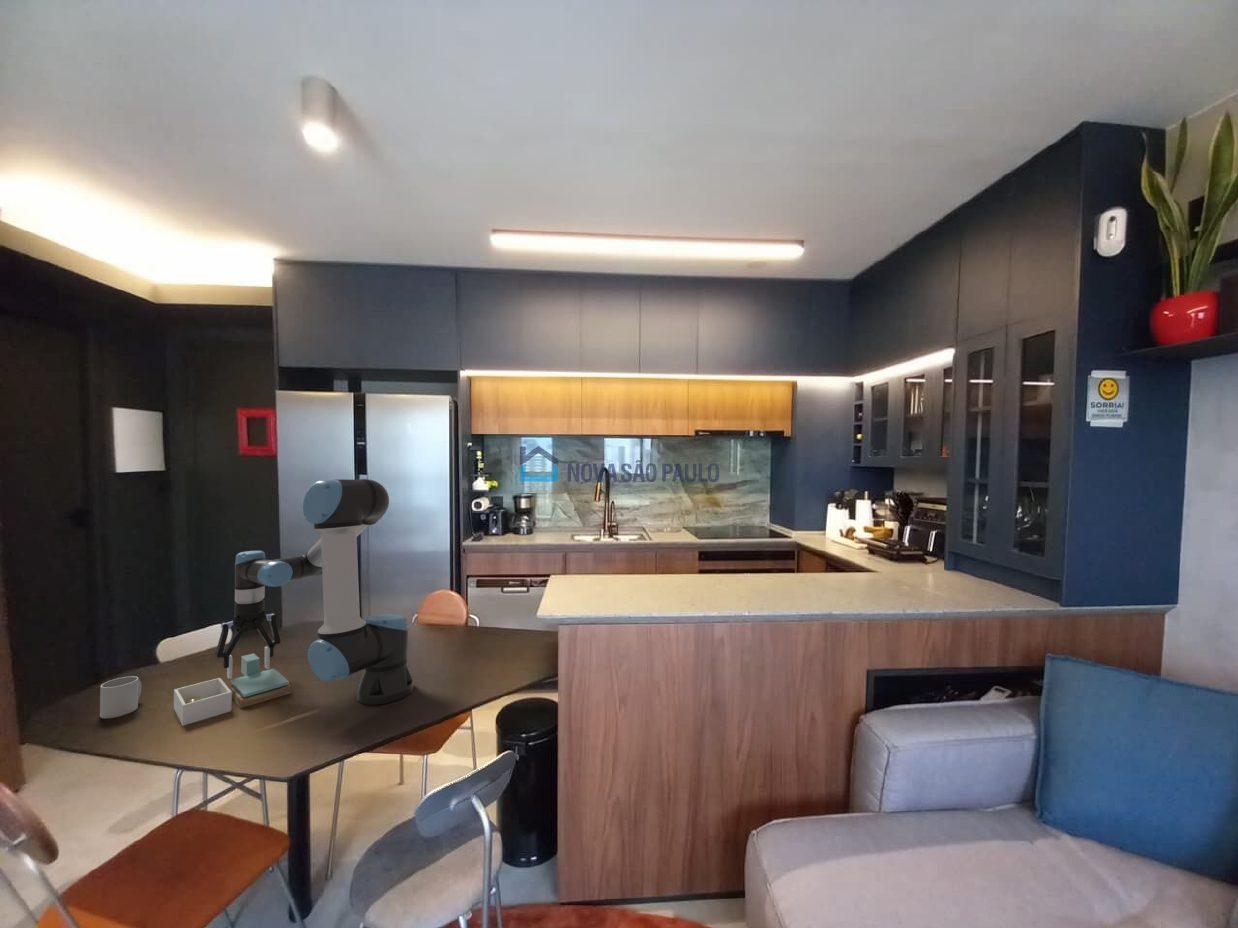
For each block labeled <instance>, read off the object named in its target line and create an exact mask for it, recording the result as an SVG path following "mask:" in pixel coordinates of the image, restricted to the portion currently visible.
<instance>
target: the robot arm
mask: <svg viewBox="0 0 1238 928" xmlns="http://www.w3.org/2000/svg"><path fill="white" fill-rule="evenodd" d="M389 505H390V496H389V493H388V491H387V489H386V488H385V487H384V485H382V484H381V483H380V482H378V481H376V480H373V479H367V478H362V479H333V478H332V479H325V480H318V481H317V482H314V483H313V484H312V485H310V487H309V488H308V489H307V491H306V492H305V495H304V498H303V502H302V512H303V516H305V520H306V521H307V522H308V523H310V524H313V530H314V531H315V533H317V534H319V536H320V539H318V540H317V542H316V543H315V544H314V545H312V547H311V548H310V549H309V550H308V551H307V552H306V553H305V554H302V555H297V556H296V555H295V556H291V557H282V558H277V559H267V558H266V552H265V551H263V550H249V551H247V550H246V551H241V552H239V553H237V554H236V555H235V561H234V562H235V564H234V602H235V603H234V615H233V619H232V620H231V621H228V622H221V624H220V627H221V632H220V635H219V640H218V643H217V647H216V650H215V652H214V653H215V654H214V655H215V656H216V657H217V658H219V659H220V658H221V659H222V666H223V668H224V669H226V677H227V678H228V680H232V679H233V661H234V660H233V658H234V657H233V656H232V655H231V654H232V652H233V650H234V649H235V647H236V645H237V643H238V641H239V640H240V638H241V637H242V635H243V634H244V633H247V632H249V631H250V632H251V631H258V633H259V635H260V636H261V638H262V639H263V640H264V642H265V643H266V645H267V646H264V660H263V661H264V665H263V666H264V668H265V669H266V670H270V669H271V668H270V666H271V665H270V663H271V662H270V661H271V659H270V658H273V657H274V649H275V646H276V645H279V644H280V643H281V638H280V634H279V630H278V627H277V622H276V621H277V615H276V614H275V613H272V612H271V613H269V614H266V613H265V608H266V607H265V604H266V603H265V602H266V601H265V600H264V598H265V595H266V594H265V593H266V592H265V586H266V587H282V586H284V585H285V584H287V583H288V582H292V581H296V580H302V579H307V578H313V577H319V576H322V600H323V602H322V603H323V624H322V625H321V626H320V628H318V630H317V639H316V640H314V641H313V642H312V643H311V644H310V646H309V648H308V650H307V651H308V652H307V659H308V664H309V667H310V668H311V671H312V673H314V675H315V676H316V678H318V679H320V680H321V681H324V682H328V683H331V682H336V681H338V680H341V679H346V678H347V677H349V676H351V675H353V674H355V673H358V672H360V671H362V670H363V673H362V676H361V678H360V682H359V685H358V688H357V691H356V694H357V696H356V698H357V699H356V700H357V701H358V702H359V703H360V704H364V705H368V706H369V705H370V706H371V705H373V706H374V705H383V704H384V705H385V704H389V703H393V702H396V701H398V700H401V699H403V698H405V697H408V696H409V694H411V693H412V691H413V690H414V679H413V675H411V674H412V673H411V671H410V668H409V665H408V633H409V632H408V631H409V629H408V620H407V618H406V617H405V616H403V615H402V614H393V613H392V614H391V613H384V614H383V613H382V614H374V615H370V616H366V618H365V619H363V618H362V617H361V616H360V615H361V614H360V613H361V611H360V592H359V591H360V590H359V589H360V588H359V586H360V583H359V567H358V566H359V565H358V564H359V562H358V539H357V538H358V536H360V535H361V534H362V533H363V531H365V530H366V528H367V527H369V526H373V525H375V524H377V523H378V522H379V521H380V520H381V518H383V517H384V515H385V514H386V513H387V510H388V508H389ZM265 620H267V621H268V623H269V627H270V631H271V634H272V639H273V640H271V637H270V636H269V635H268V633H267V631H266V630H265V628H264V627H263V625H262V624H263V623H264V622H265ZM232 626H234V627H236V629H235V630H234V633H233V635H232V637H231V639H230V640H229V642H228V644H227V645H226V642H227V639H228V634H229V630H230V629H232ZM225 646H226V648H225Z"/></svg>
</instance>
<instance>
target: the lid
mask: <svg viewBox="0 0 1238 928" xmlns="http://www.w3.org/2000/svg"><path fill="white" fill-rule="evenodd" d="M240 658H241V659H240V661H241V663H240V664H241V666H240V673H241V674H242V675H243V676H239V677H236V678H232V679H230V683H231V685H234V687H235V688H236V689H237V690H238V691H239V693H240V694H241V695H242V696H243V697H247V696H251V695H254V694H258V693H261V692H265V691H268V690H272V689H275V688H278V687H282V686H285V685H288V684H290V681H289V680H288V679H287V678H285V676H283V675H282V674H281V673H280V672H279V671H278V670H277V669H276V668H270V669H266V670H263V671H260V663H261V659H260V657H259V656H257V655H256V654H255V653H250V654H246V655H241V656H240Z"/></svg>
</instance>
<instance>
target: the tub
mask: <svg viewBox="0 0 1238 928" xmlns="http://www.w3.org/2000/svg"><path fill="white" fill-rule="evenodd" d="M194 697H200V700H198V701H194V702H190V703H187V700H188V699H191V698H194ZM232 701H233V698H232V692H231V690H230V689H229V686H228V685H227V684H226V682H224V681H223V679H222V678H221V677H217V678H214V679H210V680H206V681H201V682H198V683H195V684H190V685H185V686H183V687H179V688H174V689H173V710H174V712H175V714H176V716H177V718H178V720H179V721H180V724H181V725H182V726H186V725H190V724H193V723H196V722H200V721H203V720H206V719H207V720H208V719H209V718H212V717H216V716H219V715H223V714H226V713H229V712H232Z"/></svg>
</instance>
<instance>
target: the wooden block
mask: <svg viewBox="0 0 1238 928" xmlns="http://www.w3.org/2000/svg"><path fill="white" fill-rule="evenodd" d="M228 688H229V689H230V690H231V692H232V700H233V701H234V702H235V703H236V704H237V706H238V707H239V708H240V709H242V708H246V707H250V706H252V705H256V704H259V703H263V702H265V701H270V700H272V699H275V698H279V697H283V696H286V695H289V694H291V693H292V686H291V684H290V683H289V684H288V685H285V686H282V687H278V688H275V689H272V690H268V691H265V692H261V693H258V694H254V695H251V696H247V697H243V696H242V695H241V694H240V693H239V691H238V690H237V689H236V688H235V687H234V685H233V684H229V685H228Z"/></svg>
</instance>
